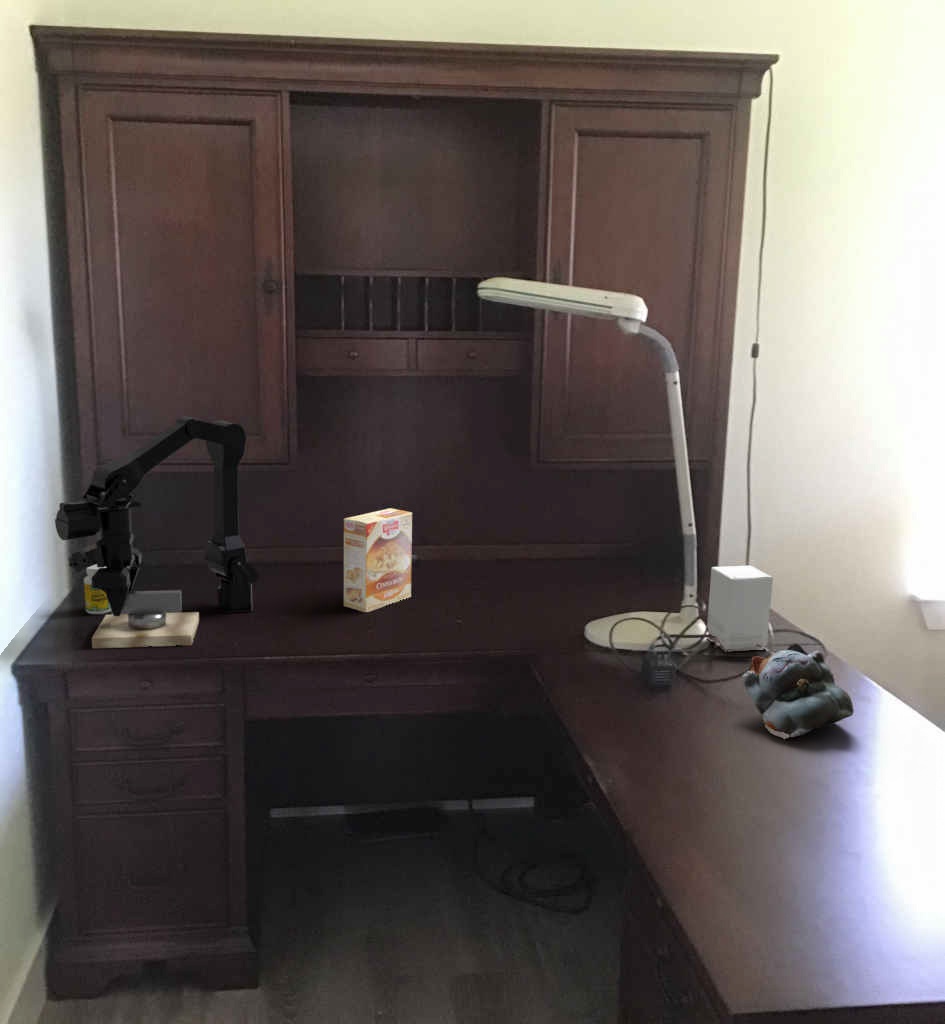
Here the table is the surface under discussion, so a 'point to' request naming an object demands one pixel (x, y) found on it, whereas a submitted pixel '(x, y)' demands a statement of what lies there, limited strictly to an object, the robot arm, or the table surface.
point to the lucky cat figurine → (796, 691)
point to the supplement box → (739, 606)
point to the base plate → (146, 632)
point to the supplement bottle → (95, 595)
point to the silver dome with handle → (150, 608)
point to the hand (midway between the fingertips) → (120, 610)
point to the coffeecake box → (377, 559)
